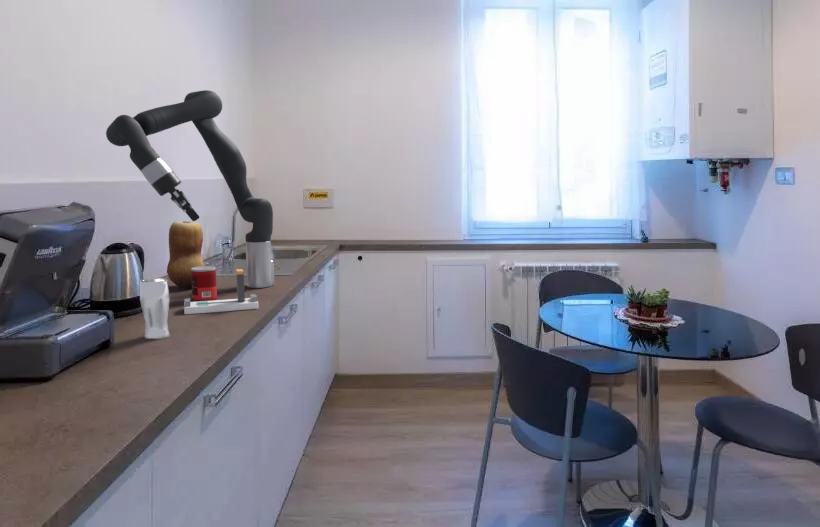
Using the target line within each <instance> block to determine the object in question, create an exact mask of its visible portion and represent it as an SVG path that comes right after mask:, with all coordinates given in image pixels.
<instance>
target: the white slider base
mask: <svg viewBox="0 0 820 527" xmlns="http://www.w3.org/2000/svg"><path fill="white" fill-rule="evenodd" d="M249 296H250V297H245V301H241V302H238V300H237V298H228V299H216V300H213V301H199V302H195V301H191V298H184V302H183V310H184V315H194V314H206V313H220V312H230V311H243V310H244V311H246V310H259V309H260V308H259V307H260V305H259V301H258V296H257V293H250V294H249Z"/></svg>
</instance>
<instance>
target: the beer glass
mask: <svg viewBox="0 0 820 527" xmlns="http://www.w3.org/2000/svg"><path fill="white" fill-rule="evenodd" d="M139 300H140V307H141V310H142V314H143V318H144V321H145V323H144V324H145V330H144V339H146V340H161V339H166V338H168V337H170V336H171V332H170V329H169V326H168V317H169V307H170V290H169V281H168V278H165V277H153V278H151V277H150V278H145V279H141V280H140V281H139Z"/></svg>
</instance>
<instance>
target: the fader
mask: <svg viewBox="0 0 820 527" xmlns="http://www.w3.org/2000/svg"><path fill="white" fill-rule="evenodd" d="M243 269H244V268H243ZM243 269H241V268H239V269H238V268H237V269H235V277H236V279H235V280H236V299H237V300H238V302H241V301H245V298H246V297H245V293H246V292H245V274H244V272H245V271H244V270H243Z"/></svg>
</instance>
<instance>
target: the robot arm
mask: <svg viewBox="0 0 820 527" xmlns="http://www.w3.org/2000/svg"><path fill="white" fill-rule="evenodd" d="M183 99H184V100H183V102H178V103H177V102H176V103H173V104H168V105H163V106H158V107H154V108H151V109H147V110H144V111H141V112H138V113H137V114H136V115H134V116H133V117H132V116H130V115H128V114H120V115H118V116H117V117H115V118H114V120H113V121H112V122H111V123H110V124H109V125H108V127H107V129H106V131H105V135H106V139H107V141H108V142H109V143H110V144H112V145H113V146H117V147H125V146H128V147H129V150H130V153H129V158H130V160H131V161H132V163H133V164H134V165H135V166H136V167H137V168H138V169H139V171H140V172H141V173H142V175H143V177H144V178H145V179H146V181H147V182H148V183H149V184H150V185H151V187H152V188H153V189H154V191H156V193H157V194H158V195H159V196H161V197H164V195H166V194H170V196H171V197H170V199H171V201H172V202H173V203H174V204H175V205H176V206H177V207H178V209H181V210H182V212H184V213H186V215H187V216H188V218H189V219H190V220H191V222H196V221H197V220H198V219H200V215H199V214H198V212H196V211H195V209H194V208H193V207H192V204H191V203H190V200H189V199H188V197H187V196H186V195H185V194H184V192H183V191H182V190H180V189H178V188H177V186H179V185H180V184H181V183H182V181H181V179H180V178H179V177H178V176H177V174H176V173H175V171H173V170H172V168H171V167H170V166H169V165H168V164H167V162H166V161H165V160H163V159H162V158H161V157H160V155H159V154H158V153H157V151H156V150H155V149H154V148H153V146H151V144H150V141H149V138H148V136H150V135H154V134H157V133H161V132H163V131H165V130H168V129H171V128H175V127H177V126H180V125H183V124H185V123H189V122H192V123H193V125H194V127H195V128H196V129H197V131H198V133H199V134H200V136H201V138H202V139H203V141H204V143H205V145H206V146H207V148H208V150H209V152H210V154H211V156H212V157H213V160H214V162H215V164H216V166H217V168H218V170H219V171H220V174H221V175H222V177H223V179H224V180H225V183H226V184H227V186H228V188H229V190H230V193H231V194H232V197H233V200H234V202H235V204H236V207H237V210H238V212H239V214H240V216H241V219H243V221H245V222H247V223H252V228H251V230H250V231H248V233H246V234H245V254H246V255H245V256H246V257H245V258H246V280H247V281H246V285H247V287H248V288H252V289H259V288H260V289H261V288H262V289H263V288H269V287H272V286H275V265H274V263H275V262H274V260H272V242H271V241H272V239H271V238H272V236H273V230H274V229H273V227H274V225H273V224H274V212H273V206H272V204H271V202H270V201H269V200H268V199H266V198H258V197H257V198H255V197H254V196H253V194H252V192H251V190H250V189H249V186H248V182H247V174H248V172H247V165H246V162H245V159H244V157H243V155H242V153H241V151H240V149H239V148H238V146H237V145H236V144H235V143H234V142H233V141H232V140H231V139H230V138H229V137H228V136H227V135H226V134H225V133H224V132H222V130H221V129H220V128H219V126H217V124H216V122H215V120H214V119H215V118H216V117H218V116H220V114H221V112H222V110H223V101H222V99H221V97H220V96H219V94H218V93H216V92H214V91H212V90H208V89H206V90H198V91H197V90H196V91H191V92H189V93H187V94H186V96H185V97H184V98H183Z"/></svg>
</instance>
